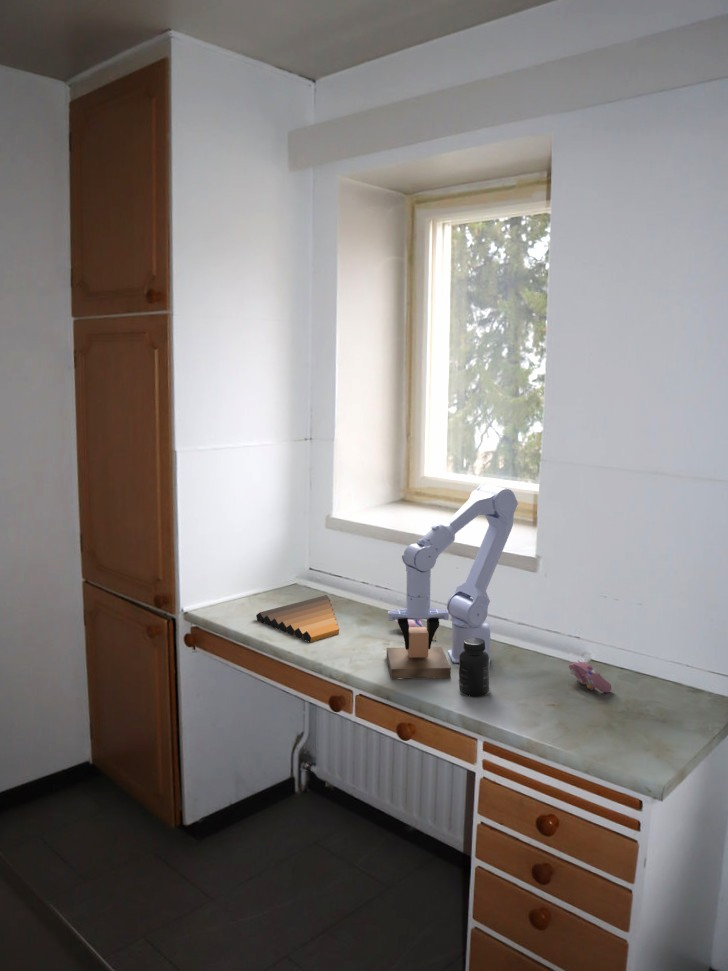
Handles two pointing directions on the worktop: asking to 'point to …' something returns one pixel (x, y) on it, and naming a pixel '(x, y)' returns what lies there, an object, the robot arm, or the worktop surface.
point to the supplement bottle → (474, 668)
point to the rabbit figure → (415, 624)
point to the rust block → (418, 642)
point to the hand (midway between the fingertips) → (417, 648)
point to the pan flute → (303, 619)
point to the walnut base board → (418, 664)
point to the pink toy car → (589, 676)
